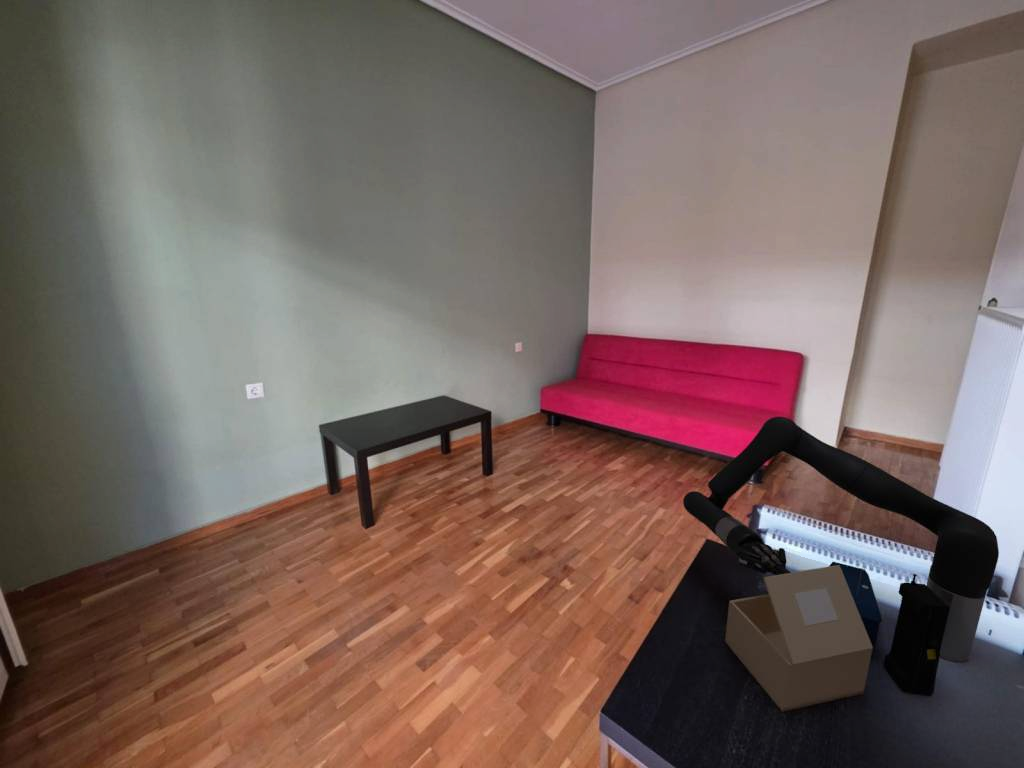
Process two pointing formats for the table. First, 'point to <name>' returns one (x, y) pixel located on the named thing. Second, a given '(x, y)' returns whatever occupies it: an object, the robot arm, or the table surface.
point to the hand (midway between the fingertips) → (790, 580)
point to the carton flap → (816, 614)
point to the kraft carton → (771, 666)
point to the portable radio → (917, 639)
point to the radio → (863, 599)
